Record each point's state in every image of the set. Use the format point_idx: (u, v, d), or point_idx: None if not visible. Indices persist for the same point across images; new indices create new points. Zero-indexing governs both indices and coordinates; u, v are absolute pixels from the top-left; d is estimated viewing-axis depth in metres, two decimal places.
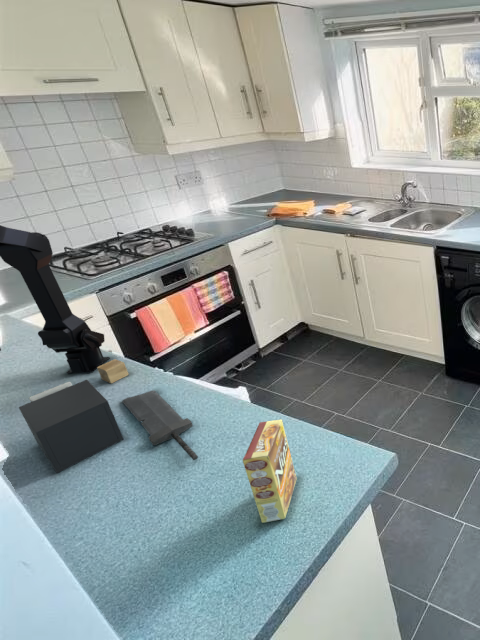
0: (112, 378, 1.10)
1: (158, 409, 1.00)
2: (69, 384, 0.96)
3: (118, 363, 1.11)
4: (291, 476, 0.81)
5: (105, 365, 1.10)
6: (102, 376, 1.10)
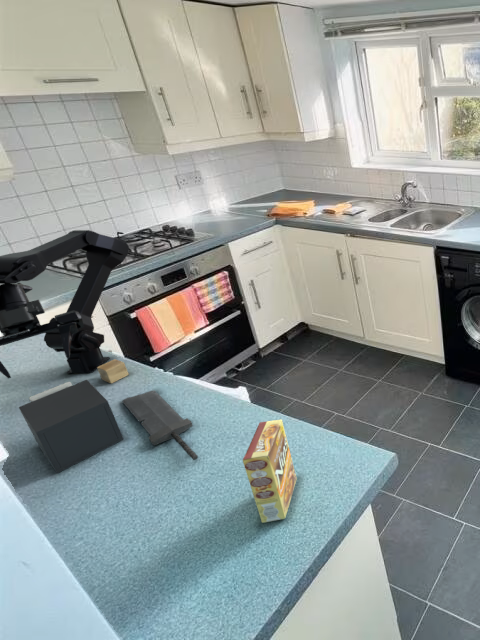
0: (112, 378, 1.10)
1: (158, 409, 1.00)
2: (69, 384, 0.96)
3: (118, 363, 1.11)
4: (291, 476, 0.81)
5: (105, 365, 1.10)
6: (102, 376, 1.10)
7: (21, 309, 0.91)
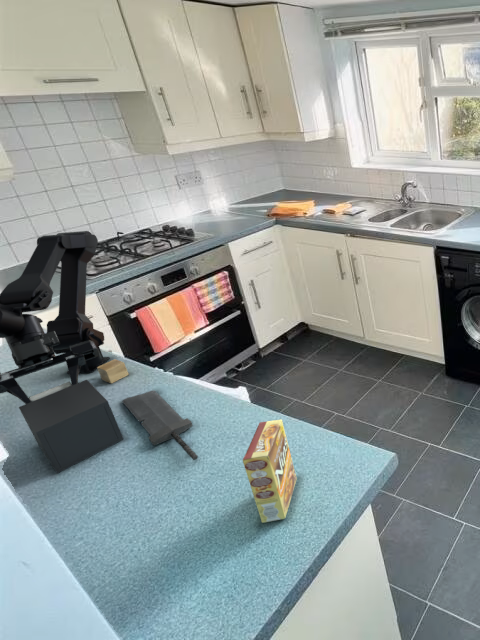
0: (112, 378, 1.10)
1: (158, 409, 1.00)
2: (69, 384, 0.96)
3: (118, 363, 1.11)
4: (291, 476, 0.81)
5: (105, 365, 1.10)
6: (102, 376, 1.10)
7: (37, 341, 0.90)
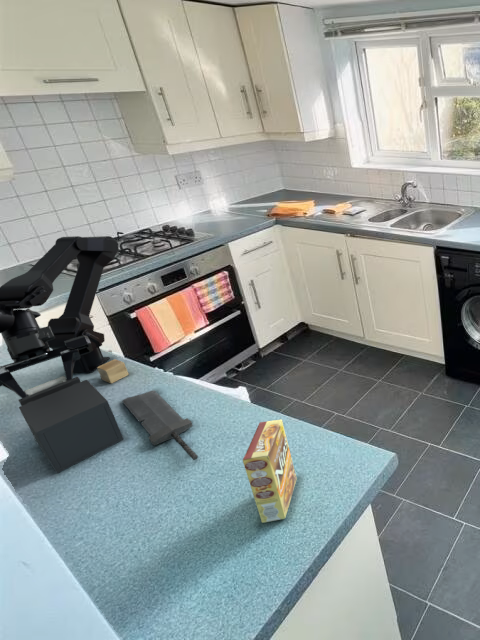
0: (112, 378, 1.10)
1: (158, 409, 1.00)
2: (64, 378, 0.98)
3: (118, 363, 1.11)
4: (291, 476, 0.81)
5: (105, 365, 1.10)
6: (102, 376, 1.10)
7: (32, 336, 0.92)
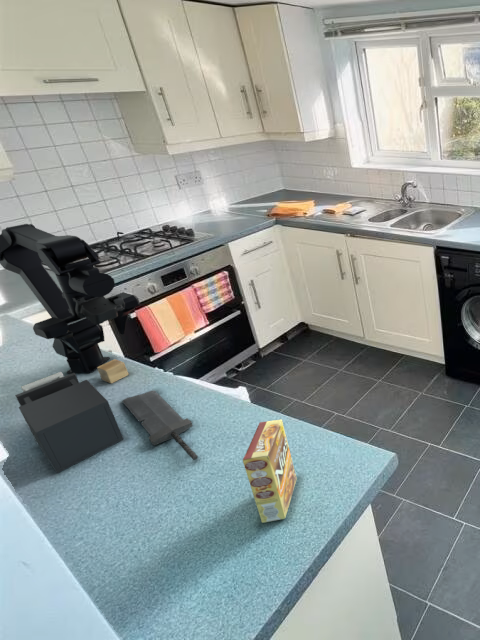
0: (112, 378, 1.10)
1: (158, 409, 1.00)
2: (60, 374, 0.99)
3: (118, 363, 1.11)
4: (291, 476, 0.81)
5: (105, 365, 1.10)
6: (102, 376, 1.10)
7: (113, 310, 1.02)
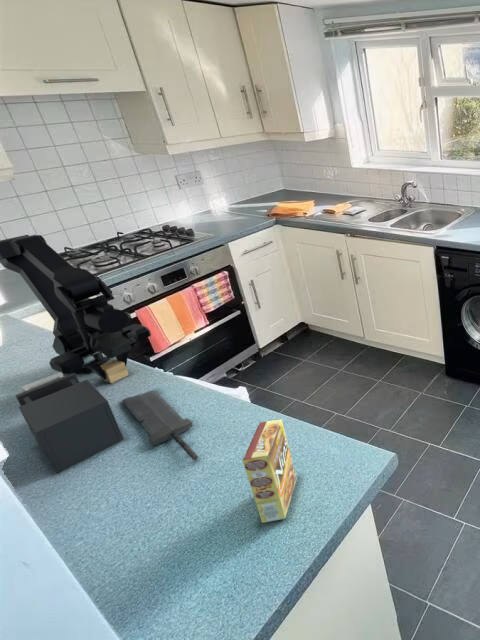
0: (112, 378, 1.10)
1: (158, 409, 1.00)
2: (60, 374, 0.99)
3: (118, 363, 1.11)
4: (291, 476, 0.81)
5: (105, 365, 1.10)
6: None
7: (126, 343, 1.06)
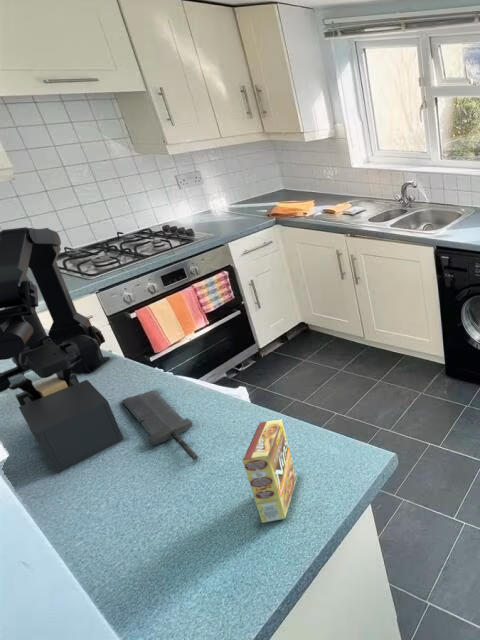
0: None
1: (158, 409, 1.00)
2: None
3: (58, 382, 0.93)
4: (291, 476, 0.81)
5: (42, 385, 0.92)
6: None
7: (64, 360, 0.87)
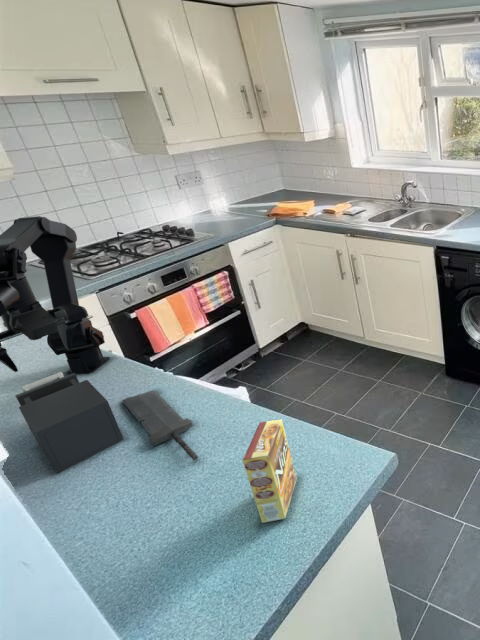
0: None
1: (158, 409, 1.00)
2: (60, 374, 0.99)
3: None
4: (291, 476, 0.81)
5: None
6: None
7: (53, 323, 0.92)
